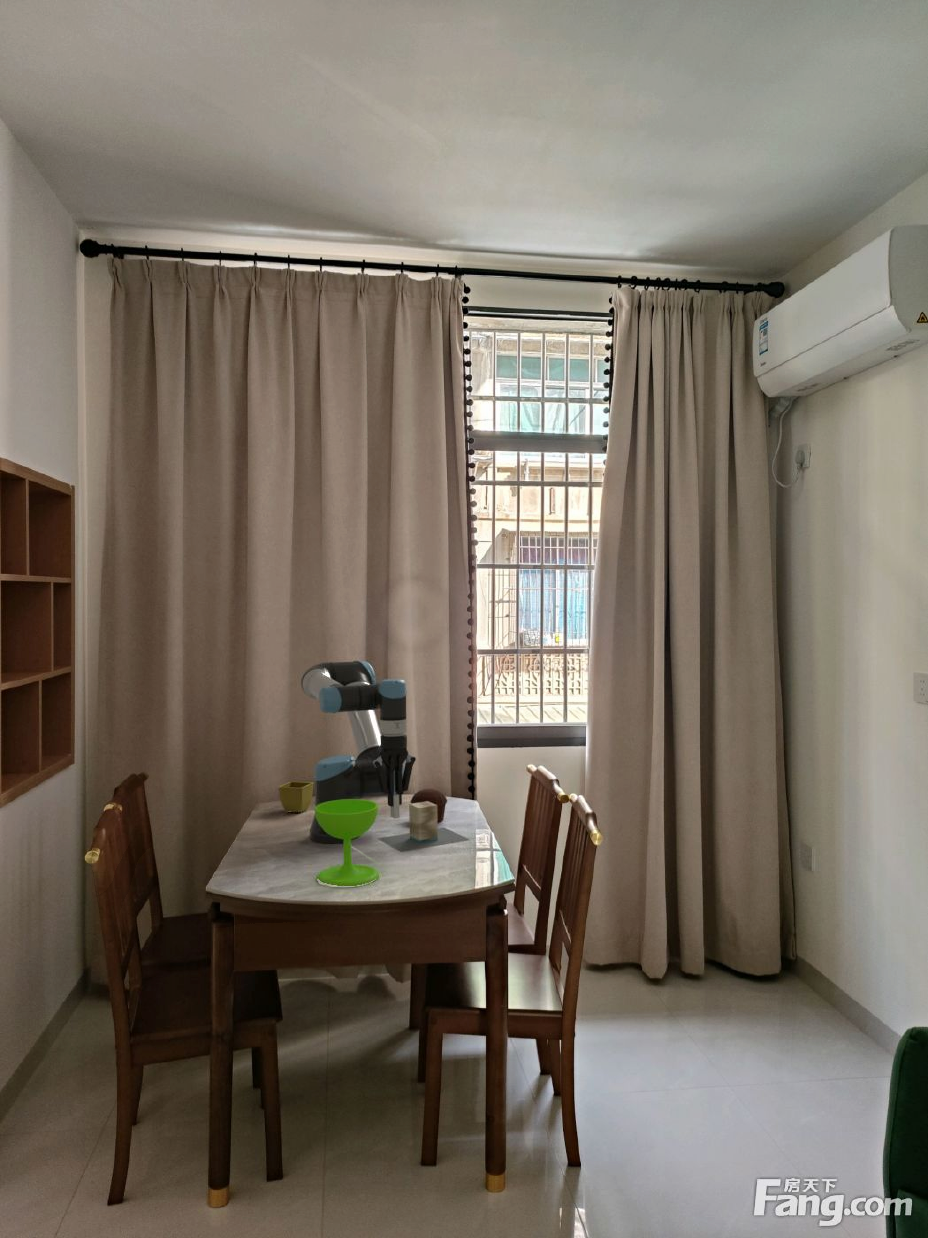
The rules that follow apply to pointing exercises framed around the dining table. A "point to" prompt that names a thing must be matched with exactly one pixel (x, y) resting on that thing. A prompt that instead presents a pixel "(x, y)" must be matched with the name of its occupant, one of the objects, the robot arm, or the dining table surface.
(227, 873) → the dining table surface
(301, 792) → the flower pot
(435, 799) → the muffin
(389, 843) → the slate mat
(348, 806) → the wineglass
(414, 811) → the maple block
